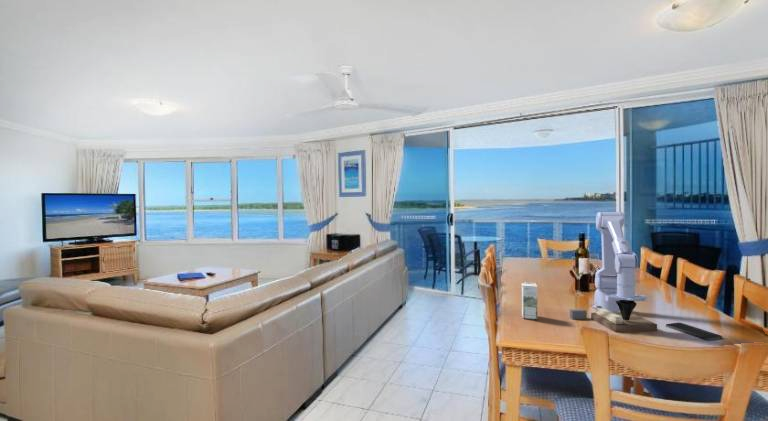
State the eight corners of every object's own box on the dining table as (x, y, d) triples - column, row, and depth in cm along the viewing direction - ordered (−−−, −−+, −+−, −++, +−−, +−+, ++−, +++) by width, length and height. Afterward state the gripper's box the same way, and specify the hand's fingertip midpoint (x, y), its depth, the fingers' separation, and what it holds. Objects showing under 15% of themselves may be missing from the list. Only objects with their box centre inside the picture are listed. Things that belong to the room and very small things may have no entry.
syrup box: (535, 315, 154) (535, 282, 154) (537, 320, 149) (537, 285, 148) (521, 314, 156) (521, 281, 156) (523, 319, 150) (522, 284, 150)
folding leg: (594, 312, 148) (594, 305, 148) (600, 312, 148) (600, 305, 148) (616, 324, 135) (616, 316, 135) (622, 323, 135) (622, 315, 135)
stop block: (569, 317, 151) (569, 309, 151) (583, 317, 151) (583, 309, 151) (572, 319, 149) (572, 311, 149) (586, 318, 149) (586, 310, 149)
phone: (707, 338, 125) (664, 324, 139) (707, 342, 125) (664, 327, 139) (724, 336, 127) (680, 322, 141) (724, 339, 127) (680, 325, 141)
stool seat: (591, 318, 149) (591, 312, 149) (628, 317, 150) (628, 311, 150) (615, 332, 134) (615, 325, 134) (657, 330, 135) (657, 324, 135)
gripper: (612, 287, 134) (612, 323, 135) (652, 287, 134) (652, 323, 134) (602, 282, 141) (602, 316, 142) (639, 282, 141) (639, 316, 141)
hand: (625, 319), depth 138 cm, fingers closed
